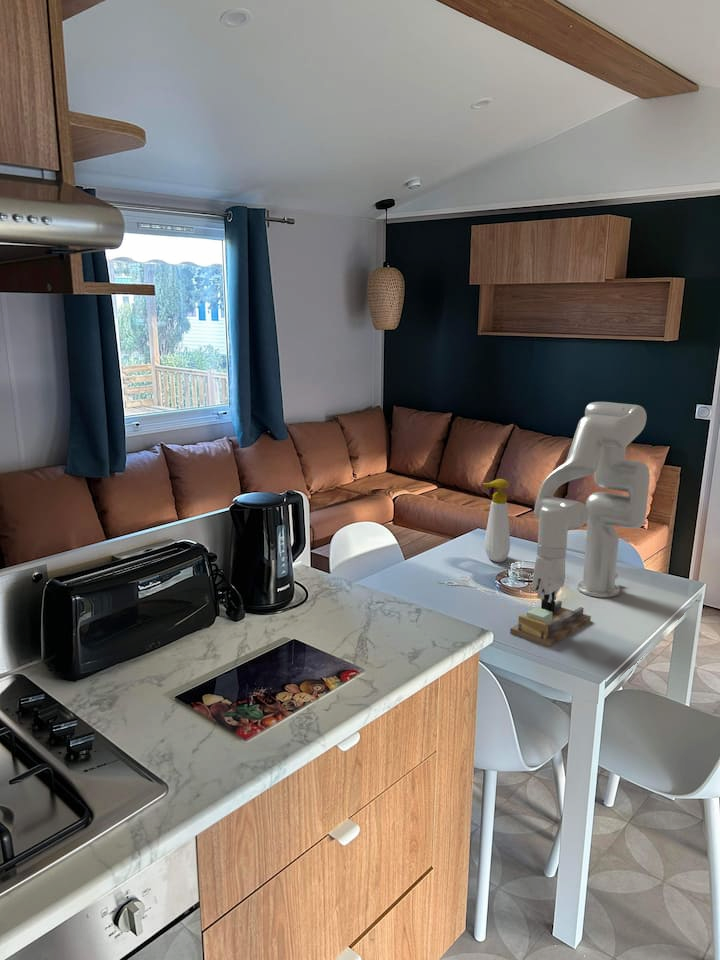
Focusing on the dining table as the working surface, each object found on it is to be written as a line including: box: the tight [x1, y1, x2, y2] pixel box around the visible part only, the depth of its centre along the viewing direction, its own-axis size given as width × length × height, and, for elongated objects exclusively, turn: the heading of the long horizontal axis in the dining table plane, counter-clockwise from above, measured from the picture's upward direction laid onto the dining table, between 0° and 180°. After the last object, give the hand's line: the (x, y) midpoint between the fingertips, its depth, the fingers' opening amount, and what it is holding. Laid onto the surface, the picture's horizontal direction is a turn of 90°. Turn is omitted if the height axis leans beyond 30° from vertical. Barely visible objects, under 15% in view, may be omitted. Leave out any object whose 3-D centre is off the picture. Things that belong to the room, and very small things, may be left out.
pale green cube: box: [526, 606, 553, 626], centre depth 200 cm, size 5×5×5 cm
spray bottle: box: [481, 478, 511, 563], centre depth 257 cm, size 13×10×29 cm
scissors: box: [438, 575, 499, 598], centre depth 235 cm, size 11×1×20 cm
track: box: [509, 600, 592, 648], centre depth 205 cm, size 23×12×6 cm, turn 137°
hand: (547, 614), depth 203 cm, fingers closed
